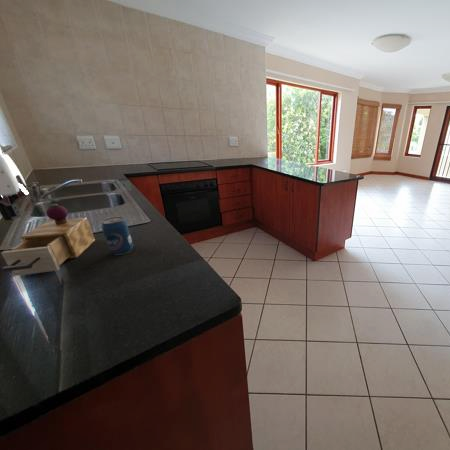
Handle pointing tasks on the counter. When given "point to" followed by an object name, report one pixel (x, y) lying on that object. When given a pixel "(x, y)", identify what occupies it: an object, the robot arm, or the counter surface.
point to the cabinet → (66, 234)
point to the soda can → (117, 235)
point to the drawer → (37, 255)
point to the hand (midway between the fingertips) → (13, 218)
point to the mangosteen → (57, 213)
